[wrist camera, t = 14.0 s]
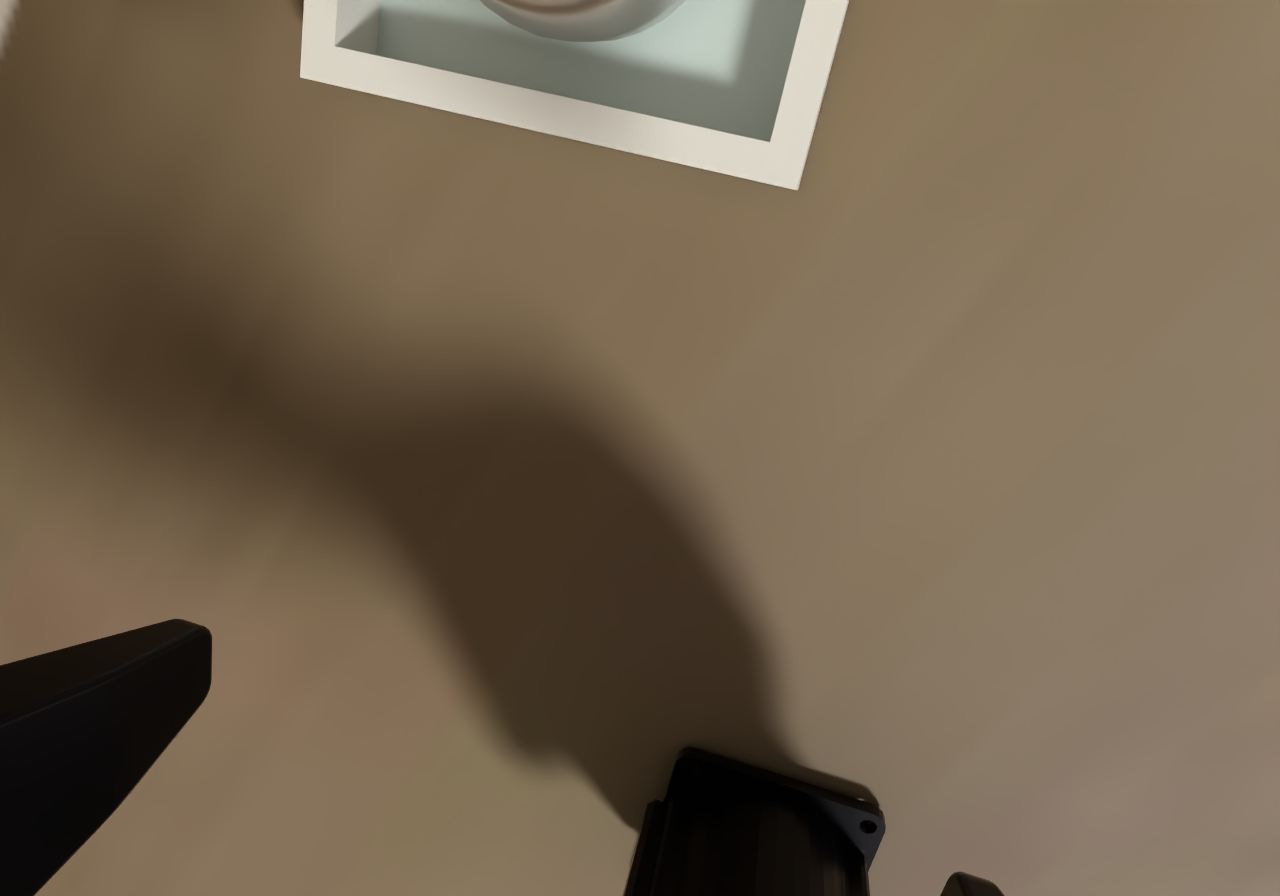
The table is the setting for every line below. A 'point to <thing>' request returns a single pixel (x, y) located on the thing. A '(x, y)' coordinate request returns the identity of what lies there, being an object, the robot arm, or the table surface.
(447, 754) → the table surface
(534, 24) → the plastic bottle
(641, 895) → the robot arm
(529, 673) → the table surface
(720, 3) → the tray
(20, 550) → the table surface
